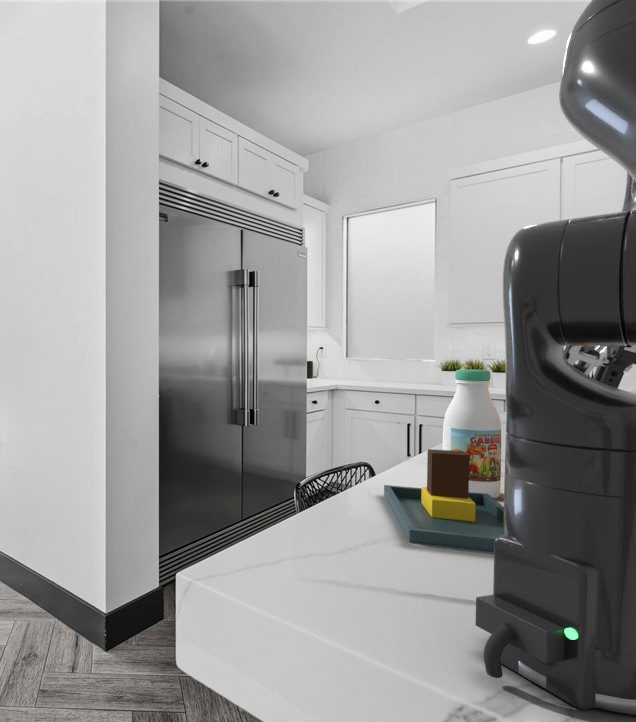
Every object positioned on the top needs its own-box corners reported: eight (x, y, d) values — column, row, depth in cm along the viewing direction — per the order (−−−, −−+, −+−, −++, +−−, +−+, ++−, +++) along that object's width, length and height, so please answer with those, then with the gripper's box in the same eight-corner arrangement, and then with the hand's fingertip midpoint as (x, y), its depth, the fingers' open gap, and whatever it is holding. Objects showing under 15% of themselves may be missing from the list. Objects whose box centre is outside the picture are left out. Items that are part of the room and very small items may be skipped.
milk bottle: (431, 490, 88) (433, 369, 87) (459, 485, 91) (462, 368, 90) (481, 502, 81) (484, 371, 80) (510, 496, 84) (513, 370, 83)
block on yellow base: (475, 521, 71) (476, 458, 70) (431, 517, 72) (432, 455, 72) (460, 506, 77) (462, 448, 77) (421, 503, 79) (422, 446, 79)
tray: (550, 563, 59) (551, 545, 58) (409, 546, 64) (409, 529, 63) (487, 507, 79) (487, 493, 79) (383, 497, 84) (384, 484, 84)
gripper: (568, 282, 73) (521, 392, 73) (629, 250, 59) (571, 385, 60) (636, 299, 70) (586, 413, 70) (716, 270, 57) (654, 411, 57)
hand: (579, 400), depth 65 cm, fingers open, 8 cm apart
